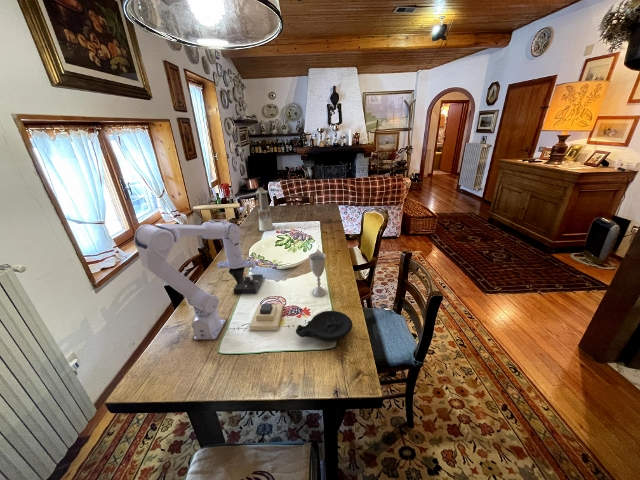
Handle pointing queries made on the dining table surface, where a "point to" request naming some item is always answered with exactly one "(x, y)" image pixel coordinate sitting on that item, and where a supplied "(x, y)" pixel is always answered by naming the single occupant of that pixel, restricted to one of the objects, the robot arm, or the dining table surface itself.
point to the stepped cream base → (267, 318)
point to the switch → (266, 308)
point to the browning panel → (249, 285)
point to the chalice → (318, 270)
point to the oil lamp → (326, 326)
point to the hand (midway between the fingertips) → (240, 282)
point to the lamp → (264, 221)
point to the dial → (247, 278)
